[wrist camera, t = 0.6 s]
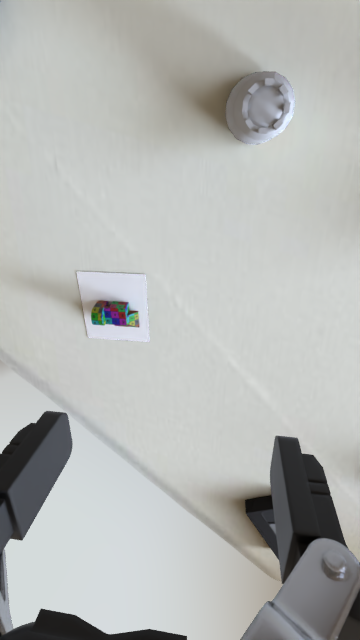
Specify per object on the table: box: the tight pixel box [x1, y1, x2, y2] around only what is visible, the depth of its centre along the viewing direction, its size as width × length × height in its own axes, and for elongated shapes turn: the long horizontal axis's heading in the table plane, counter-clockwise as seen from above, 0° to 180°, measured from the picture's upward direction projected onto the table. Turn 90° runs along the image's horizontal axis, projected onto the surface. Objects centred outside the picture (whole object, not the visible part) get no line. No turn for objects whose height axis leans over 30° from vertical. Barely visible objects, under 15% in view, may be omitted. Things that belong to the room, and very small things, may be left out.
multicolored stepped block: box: [76, 271, 150, 342], centre depth 34 cm, size 7×8×2 cm
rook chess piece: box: [226, 72, 295, 144], centre depth 21 cm, size 4×4×8 cm
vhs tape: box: [245, 496, 279, 559], centre depth 50 cm, size 8×14×2 cm, turn 28°
